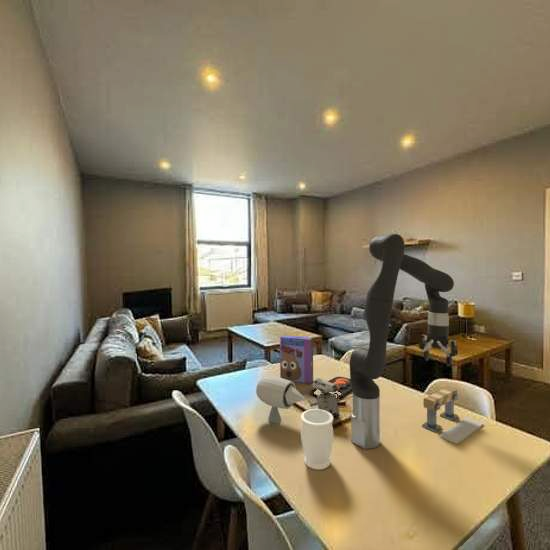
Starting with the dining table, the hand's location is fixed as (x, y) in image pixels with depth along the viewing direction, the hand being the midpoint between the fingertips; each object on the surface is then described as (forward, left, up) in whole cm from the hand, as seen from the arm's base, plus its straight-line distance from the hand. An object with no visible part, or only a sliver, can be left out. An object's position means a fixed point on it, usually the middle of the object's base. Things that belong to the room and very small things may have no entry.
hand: (437, 362), depth 126 cm
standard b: (+5, -3, -23) cm, 24 cm away
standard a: (-9, -2, -23) cm, 25 cm away
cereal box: (-20, +67, -23) cm, 73 cm away
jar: (-59, +9, -23) cm, 64 cm away
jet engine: (-54, +36, -23) cm, 69 cm away
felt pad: (-2, -11, -23) cm, 25 cm away
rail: (-2, -2, -15) cm, 15 cm away
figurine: (-36, +28, -23) cm, 51 cm away
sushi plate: (-10, +37, -24) cm, 46 cm away
